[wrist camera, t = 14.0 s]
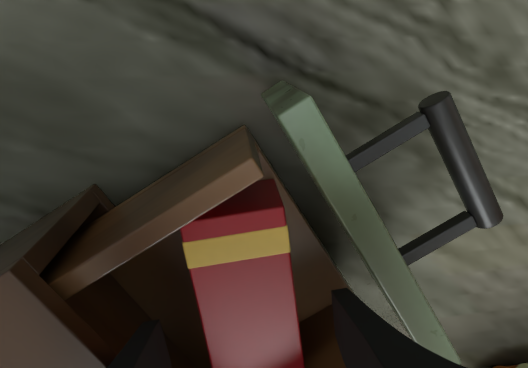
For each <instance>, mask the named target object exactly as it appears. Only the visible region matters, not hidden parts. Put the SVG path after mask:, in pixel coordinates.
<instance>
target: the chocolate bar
mask: <svg viewBox="0 0 528 368" xmlns="http://www.w3.org/2000/svg"><path fill="white" fill-rule="evenodd" d="M180 232H181V237H182V246H183V250H184V254H185V259H186V263H187V267H188V269H189V272H190V276H191V280H192V285H193V289H194V293H195V298H196V302H197V307H198V311H199V315H200V320H201V324H202V328H203V333H204V337H205V341H206V346H207V350H208V355H209V359H210V363H211V368H305V366H304V358H303V350H302V342H301V334H300V326H299V318H298V310H297V302H296V295H295V287H294V279H293V271H292V263H291V255H290V251H291V248H290V240H289V232H288V226H287V223H286V216H285V208H284V205H283V202H282V199H281V196H280V193H279V191H278V188H277V185H276V182H275V180H274V179H268V180H261V181H256V182H255V183H253V184H251V185H250V186H248V187H247V188H245V189H243V190H242V191H240V192H239V193H237V194H235V195H234V196H232V197H231V198H229V199H227V200H226V201H224V202H222V203H221V204H219V205H218V206H216V207H214V208H213V209H211V210H210V211H208V212H206V213H205V214H203V215H201V216H200V217H198V218H197V219H195V220H193V221H192V222H190V223H189V224H187V225H185V226H184V227H182V228H181V229H180Z"/></svg>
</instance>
